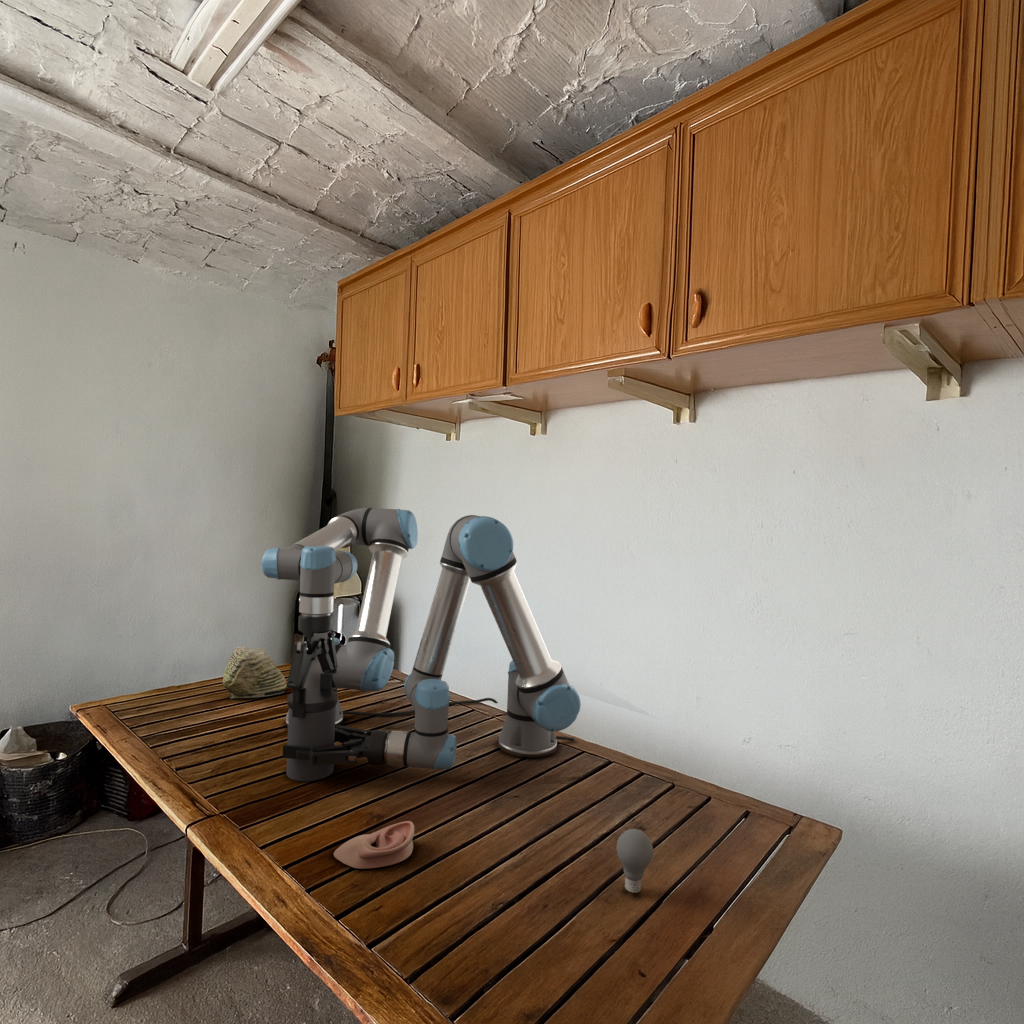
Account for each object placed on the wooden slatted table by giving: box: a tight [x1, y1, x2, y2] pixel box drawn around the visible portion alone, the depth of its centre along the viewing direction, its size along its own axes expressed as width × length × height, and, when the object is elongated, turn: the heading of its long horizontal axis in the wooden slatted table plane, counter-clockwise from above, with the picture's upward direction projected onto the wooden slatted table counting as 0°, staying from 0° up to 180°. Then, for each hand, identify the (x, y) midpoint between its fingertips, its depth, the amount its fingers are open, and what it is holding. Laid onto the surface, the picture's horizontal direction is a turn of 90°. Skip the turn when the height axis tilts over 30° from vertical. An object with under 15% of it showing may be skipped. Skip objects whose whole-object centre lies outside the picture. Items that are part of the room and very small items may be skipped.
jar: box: [285, 705, 336, 782], centre depth 146 cm, size 10×10×17 cm
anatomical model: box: [333, 820, 415, 870], centre depth 114 cm, size 13×4×12 cm
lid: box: [286, 689, 339, 711], centre depth 145 cm, size 11×11×2 cm
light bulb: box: [615, 828, 654, 894], centre depth 106 cm, size 6×6×10 cm
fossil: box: [222, 646, 287, 699], centre depth 198 cm, size 9×18×15 cm, turn 132°
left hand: (312, 708), depth 145 cm, fingers closed on lid, 11 cm apart
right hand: (293, 741), depth 146 cm, fingers closed on jar, 10 cm apart
